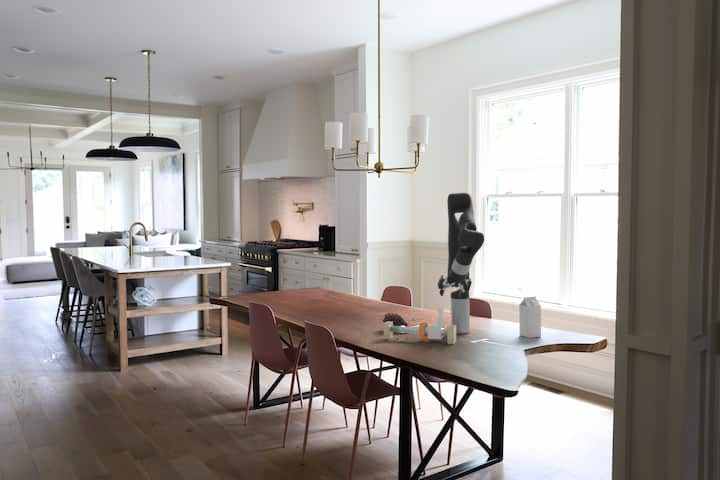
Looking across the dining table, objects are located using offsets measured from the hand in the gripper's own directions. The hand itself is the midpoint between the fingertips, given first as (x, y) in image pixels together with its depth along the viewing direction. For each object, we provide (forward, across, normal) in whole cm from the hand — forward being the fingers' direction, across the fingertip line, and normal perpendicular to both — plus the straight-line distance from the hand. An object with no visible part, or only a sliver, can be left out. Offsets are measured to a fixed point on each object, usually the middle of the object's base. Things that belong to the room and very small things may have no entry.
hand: (450, 295), depth 259 cm
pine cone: (+43, +15, -16) cm, 48 cm away
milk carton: (+20, -46, 0) cm, 50 cm away
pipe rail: (+28, +8, +3) cm, 29 cm away
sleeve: (+23, +1, +4) cm, 24 cm away
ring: (+26, +6, +3) cm, 27 cm away
